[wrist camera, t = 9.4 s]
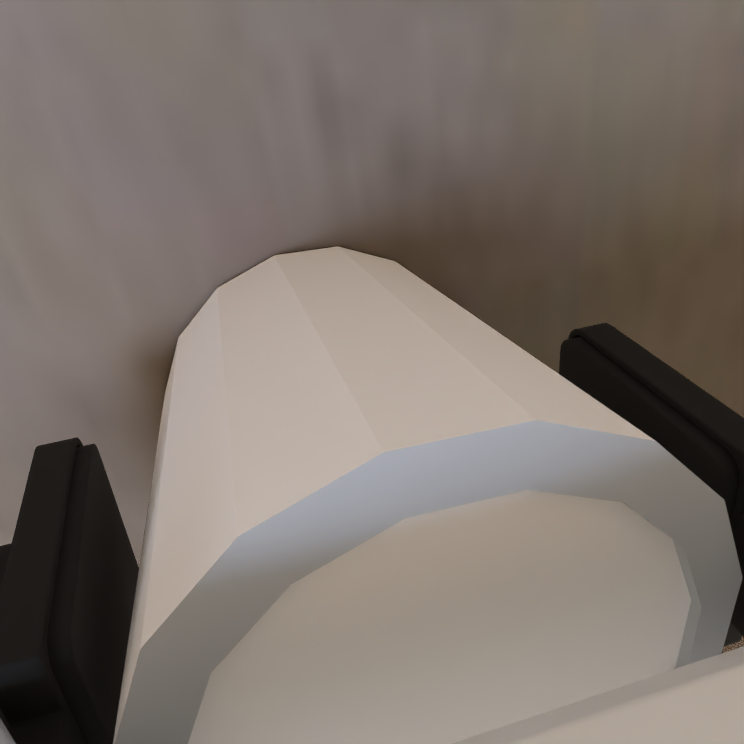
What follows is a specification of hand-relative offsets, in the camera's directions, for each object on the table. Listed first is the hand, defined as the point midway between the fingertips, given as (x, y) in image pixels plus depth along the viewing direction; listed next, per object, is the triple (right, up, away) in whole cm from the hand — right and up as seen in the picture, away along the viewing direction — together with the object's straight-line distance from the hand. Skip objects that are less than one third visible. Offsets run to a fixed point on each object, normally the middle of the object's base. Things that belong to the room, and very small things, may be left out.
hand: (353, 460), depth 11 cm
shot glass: (-1, +1, +2) cm, 3 cm away
